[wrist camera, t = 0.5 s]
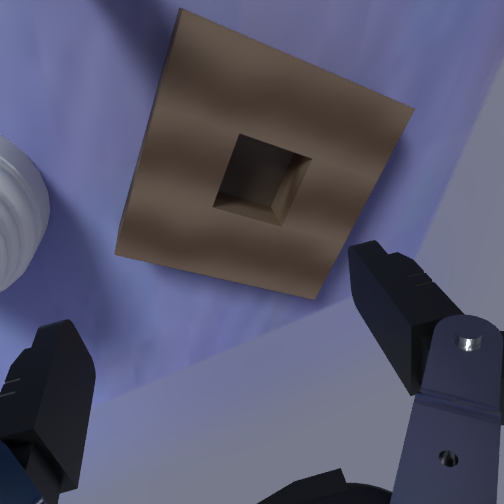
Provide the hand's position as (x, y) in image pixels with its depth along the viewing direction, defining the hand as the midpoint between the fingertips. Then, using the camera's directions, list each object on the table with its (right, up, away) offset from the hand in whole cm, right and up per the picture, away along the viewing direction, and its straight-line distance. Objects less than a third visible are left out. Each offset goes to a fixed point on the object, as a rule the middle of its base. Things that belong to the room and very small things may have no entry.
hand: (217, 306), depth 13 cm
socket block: (+1, +9, +25) cm, 27 cm away
